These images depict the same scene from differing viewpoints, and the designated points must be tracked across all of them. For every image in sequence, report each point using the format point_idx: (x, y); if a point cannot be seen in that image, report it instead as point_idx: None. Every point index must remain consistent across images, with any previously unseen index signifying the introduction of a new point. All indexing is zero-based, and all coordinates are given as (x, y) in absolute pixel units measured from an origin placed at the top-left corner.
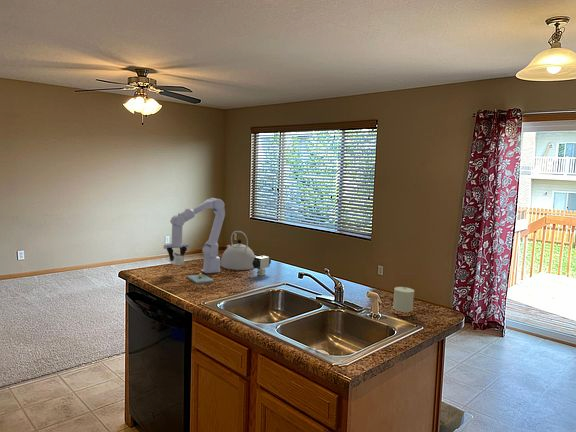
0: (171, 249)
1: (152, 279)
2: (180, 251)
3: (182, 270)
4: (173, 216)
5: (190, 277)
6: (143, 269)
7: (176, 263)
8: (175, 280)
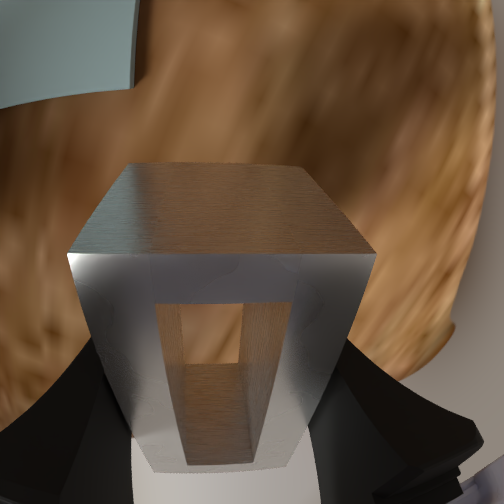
0: (425, 478)
1: (438, 164)
2: (127, 470)
3: None
4: None
5: (127, 5)
6: None
7: (278, 173)
8: (298, 27)
